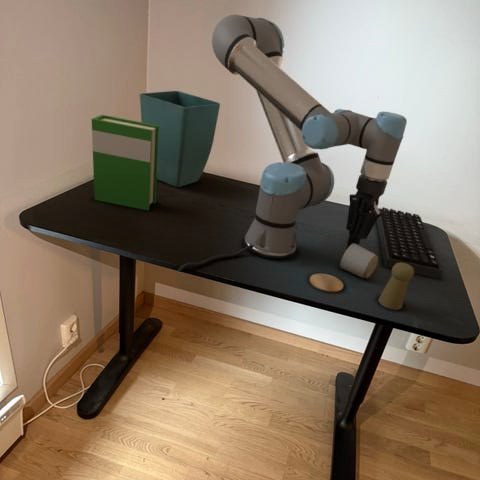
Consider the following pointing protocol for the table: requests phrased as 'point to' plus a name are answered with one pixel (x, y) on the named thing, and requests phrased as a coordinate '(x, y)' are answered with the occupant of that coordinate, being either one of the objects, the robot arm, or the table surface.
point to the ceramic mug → (359, 261)
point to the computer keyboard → (407, 242)
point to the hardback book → (125, 161)
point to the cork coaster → (326, 282)
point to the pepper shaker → (396, 286)
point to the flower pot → (180, 133)
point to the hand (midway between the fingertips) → (348, 256)
